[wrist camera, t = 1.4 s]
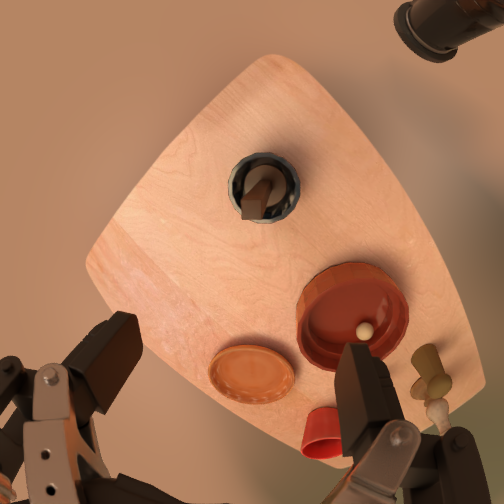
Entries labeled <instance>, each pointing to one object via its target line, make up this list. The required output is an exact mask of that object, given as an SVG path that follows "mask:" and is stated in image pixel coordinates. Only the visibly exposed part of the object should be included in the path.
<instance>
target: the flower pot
mask: <svg viewBox="0 0 504 504" xmlns="http://www.w3.org/2000/svg"><path fill="white" fill-rule="evenodd" d="M301 453H302V455H304V456H305V457H307V458H311V459H328V458H333V457H337V456H339V455H342V444H341V434H340V425H339V417H338V410H337V409H335V408H329V407H324V408H319V409H316V410H314V411H312V412H311V413H310V414H309V415H308V418H307V422H306V427H305V431H304V436H303V441H302V446H301Z"/></svg>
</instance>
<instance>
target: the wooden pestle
mask: <svg viewBox="0 0 504 504" xmlns="http://www.w3.org/2000/svg"><path fill="white" fill-rule="evenodd" d="M244 189H245V193H246V195H245V196H244V197H243V198H242V199H241V217H242V220H262V218H263V215H264V212H265V209H266V207H269V206H273V205H275V204H277V203H279V202H280V201H281V200H282V199H283V197H284V196H285V194H286V190H287V181H286V176H285V174H284V172H283V171H282V169H281V168H279V167H278V166H276V165H274V164H269V163H267V164H262V165H259V166H257V167H255V168H253V169H252V170H251V171H250V172H249V173H248V174H247V176H246V178H245V182H244Z"/></svg>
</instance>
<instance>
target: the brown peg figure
mask: <svg viewBox="0 0 504 504" xmlns="http://www.w3.org/2000/svg"><path fill="white" fill-rule="evenodd" d="M411 363H412V364H413V366H414V367H415V369H416V370H417V371H418V373H419V374H420V376H421V377H422V379H423V380H424V381H425V383H426V384H427V393H428V395H429V396H430V397H431V398H433V399H438V398H441V397H443V396H445V395H446V394H447V393H448V392H449V391H450V389H451V388H452V379H451V377H450V376H449V375H448V374H446V373H445V371H444V368H443V365H442V363H441V360H440V357H439V355H438V352H437V350H436V347H435V346H434V345H433V344H426V345H424V346H422V347H420V348H419V349H418V350H417V351H415V353H414V354H413V356H412V358H411Z"/></svg>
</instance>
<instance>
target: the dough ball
mask: <svg viewBox="0 0 504 504" xmlns="http://www.w3.org/2000/svg"><path fill="white" fill-rule="evenodd" d="M373 332H374V330H373V327H372V325H371V324H369V323H367V322H364V323H361V324H360V325H359V326H358V327H357V329H356V335H357V337H358V338H359V339H361V340H368V339H370V338H371V337H372V335H373Z"/></svg>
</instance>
